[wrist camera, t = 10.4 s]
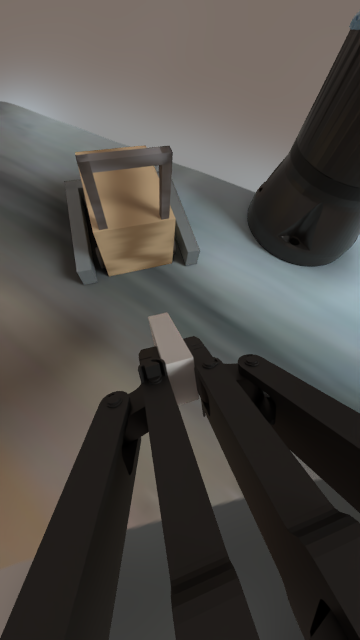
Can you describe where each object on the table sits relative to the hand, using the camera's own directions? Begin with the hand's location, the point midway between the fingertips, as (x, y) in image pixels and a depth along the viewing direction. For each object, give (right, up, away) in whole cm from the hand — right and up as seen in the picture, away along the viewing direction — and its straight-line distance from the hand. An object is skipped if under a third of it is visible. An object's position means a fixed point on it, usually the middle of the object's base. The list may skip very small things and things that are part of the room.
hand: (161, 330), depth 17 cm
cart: (-5, +12, +13) cm, 18 cm away
